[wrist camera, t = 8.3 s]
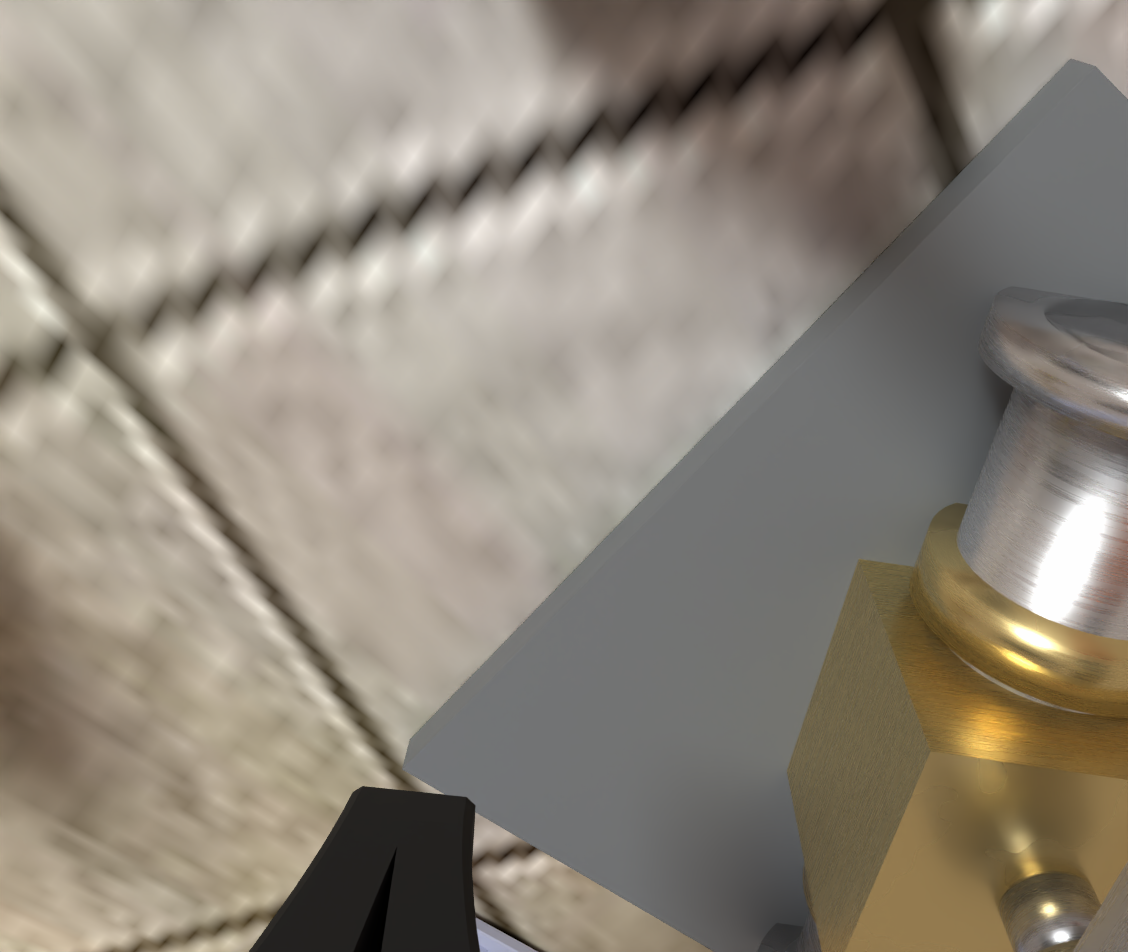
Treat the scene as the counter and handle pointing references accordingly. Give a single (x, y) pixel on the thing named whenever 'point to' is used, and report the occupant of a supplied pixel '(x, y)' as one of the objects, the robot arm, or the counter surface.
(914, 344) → the mounting board
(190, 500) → the counter surface
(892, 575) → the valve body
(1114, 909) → the lever
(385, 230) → the counter surface
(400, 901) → the robot arm
